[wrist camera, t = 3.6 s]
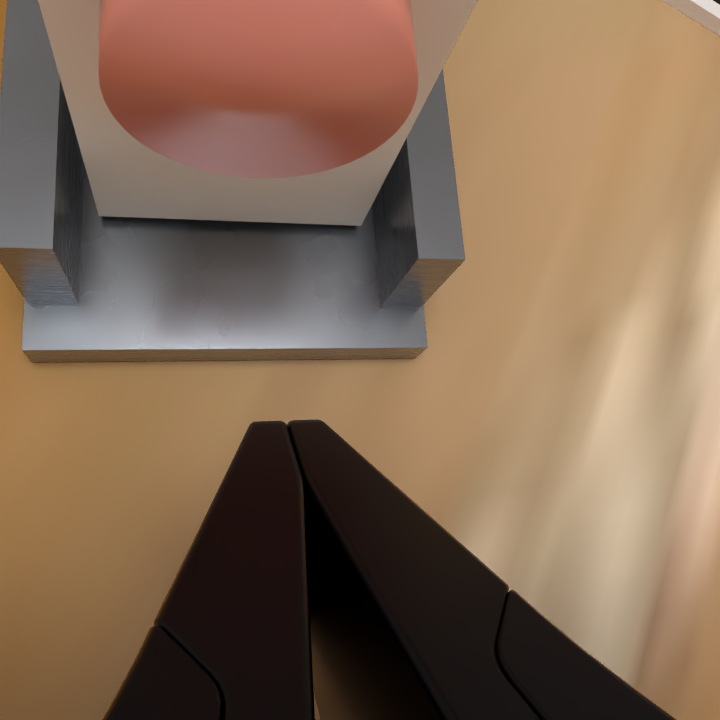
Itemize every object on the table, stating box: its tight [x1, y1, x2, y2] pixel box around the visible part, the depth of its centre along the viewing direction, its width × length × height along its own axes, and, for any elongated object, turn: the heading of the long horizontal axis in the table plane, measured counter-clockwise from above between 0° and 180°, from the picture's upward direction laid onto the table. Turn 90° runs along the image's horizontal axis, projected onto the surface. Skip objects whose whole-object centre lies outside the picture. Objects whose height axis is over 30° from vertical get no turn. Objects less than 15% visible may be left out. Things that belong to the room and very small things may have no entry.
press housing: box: [0, 0, 465, 362], centre depth 16 cm, size 14×9×5 cm, turn 4°
